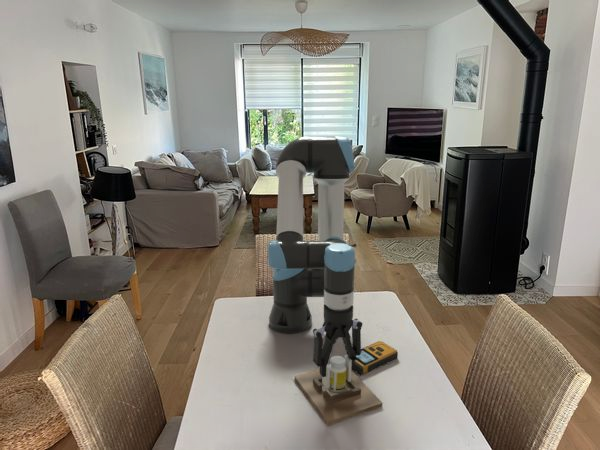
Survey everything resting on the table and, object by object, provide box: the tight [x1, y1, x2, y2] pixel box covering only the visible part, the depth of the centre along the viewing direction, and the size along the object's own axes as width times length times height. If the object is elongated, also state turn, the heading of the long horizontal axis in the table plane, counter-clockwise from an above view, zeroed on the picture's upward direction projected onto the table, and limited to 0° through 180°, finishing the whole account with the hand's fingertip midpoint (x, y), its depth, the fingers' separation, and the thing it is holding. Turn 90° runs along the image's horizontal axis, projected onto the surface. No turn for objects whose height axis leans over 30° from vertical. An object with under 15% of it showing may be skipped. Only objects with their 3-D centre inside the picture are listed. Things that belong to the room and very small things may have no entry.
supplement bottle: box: [328, 355, 346, 392], centre depth 118 cm, size 5×5×8 cm
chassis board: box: [293, 368, 383, 426], centre depth 119 cm, size 20×16×3 cm
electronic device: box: [346, 340, 399, 377], centre depth 133 cm, size 8×16×3 cm, turn 125°
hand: (336, 381), depth 118 cm, fingers open, 6 cm apart
